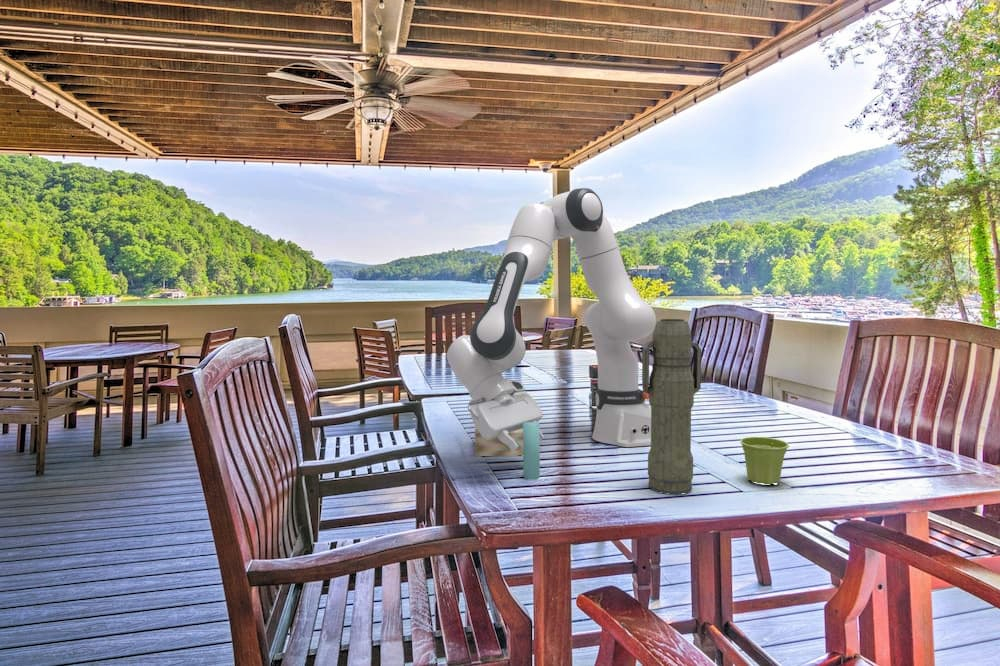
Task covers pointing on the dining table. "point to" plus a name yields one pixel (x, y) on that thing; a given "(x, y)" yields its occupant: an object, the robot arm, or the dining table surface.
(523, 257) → the robot arm
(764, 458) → the plant pot
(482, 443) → the maple block
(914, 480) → the dining table surface
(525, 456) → the teal pin
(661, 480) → the thermos
